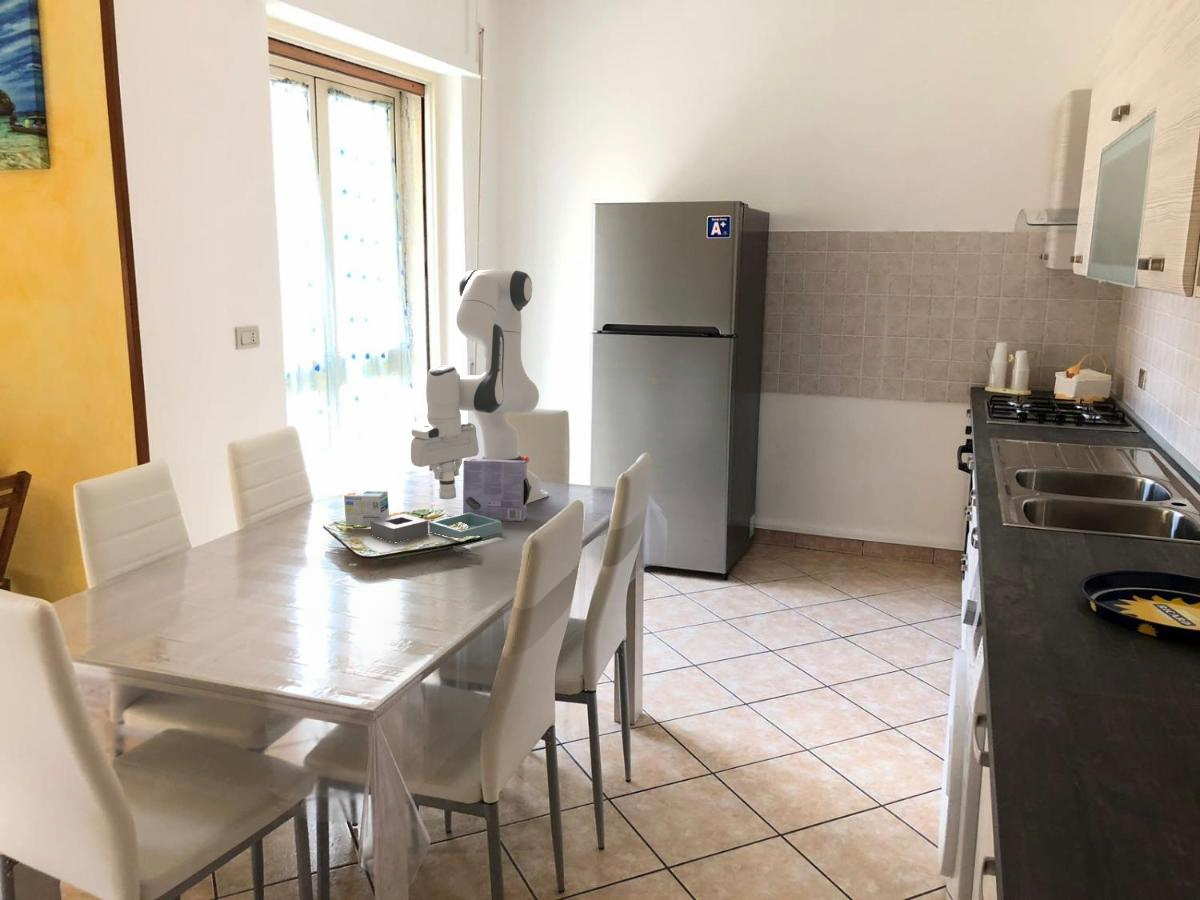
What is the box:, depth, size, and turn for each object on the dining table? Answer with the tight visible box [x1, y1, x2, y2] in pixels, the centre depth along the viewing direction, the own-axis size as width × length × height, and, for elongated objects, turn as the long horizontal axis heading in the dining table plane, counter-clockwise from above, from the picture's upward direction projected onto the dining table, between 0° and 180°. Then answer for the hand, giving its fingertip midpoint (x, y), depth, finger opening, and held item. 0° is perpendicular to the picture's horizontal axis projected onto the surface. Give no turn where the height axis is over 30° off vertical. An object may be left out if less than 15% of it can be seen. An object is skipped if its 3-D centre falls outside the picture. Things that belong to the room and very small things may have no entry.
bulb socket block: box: [370, 513, 429, 544], centre depth 255 cm, size 11×11×5 cm
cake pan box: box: [462, 458, 530, 522], centre depth 273 cm, size 19×5×18 cm, turn 84°
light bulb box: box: [343, 490, 390, 527], centre depth 263 cm, size 11×7×11 cm, turn 84°
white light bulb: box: [437, 460, 457, 500], centre depth 254 cm, size 4×4×10 cm
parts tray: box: [428, 512, 503, 547], centre depth 257 cm, size 14×14×4 cm
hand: (446, 477), depth 254 cm, fingers closed on white light bulb, 4 cm apart
